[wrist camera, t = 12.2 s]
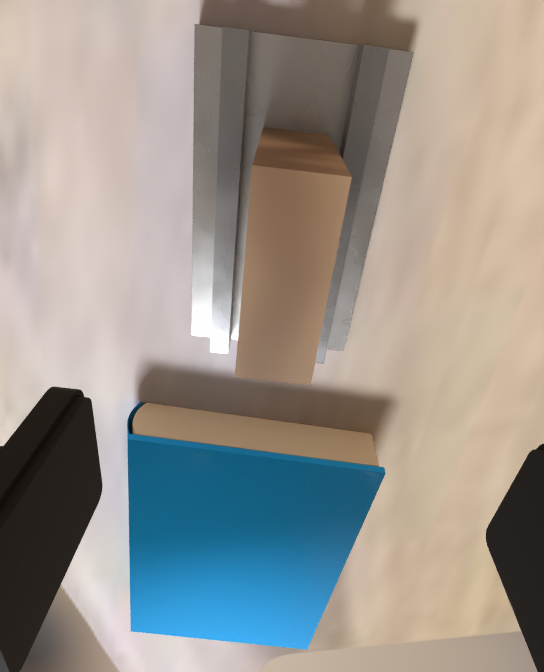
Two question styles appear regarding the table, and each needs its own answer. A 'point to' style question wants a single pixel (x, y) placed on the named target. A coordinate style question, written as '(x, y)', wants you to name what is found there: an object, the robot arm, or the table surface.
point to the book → (241, 522)
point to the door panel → (289, 253)
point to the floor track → (287, 114)
